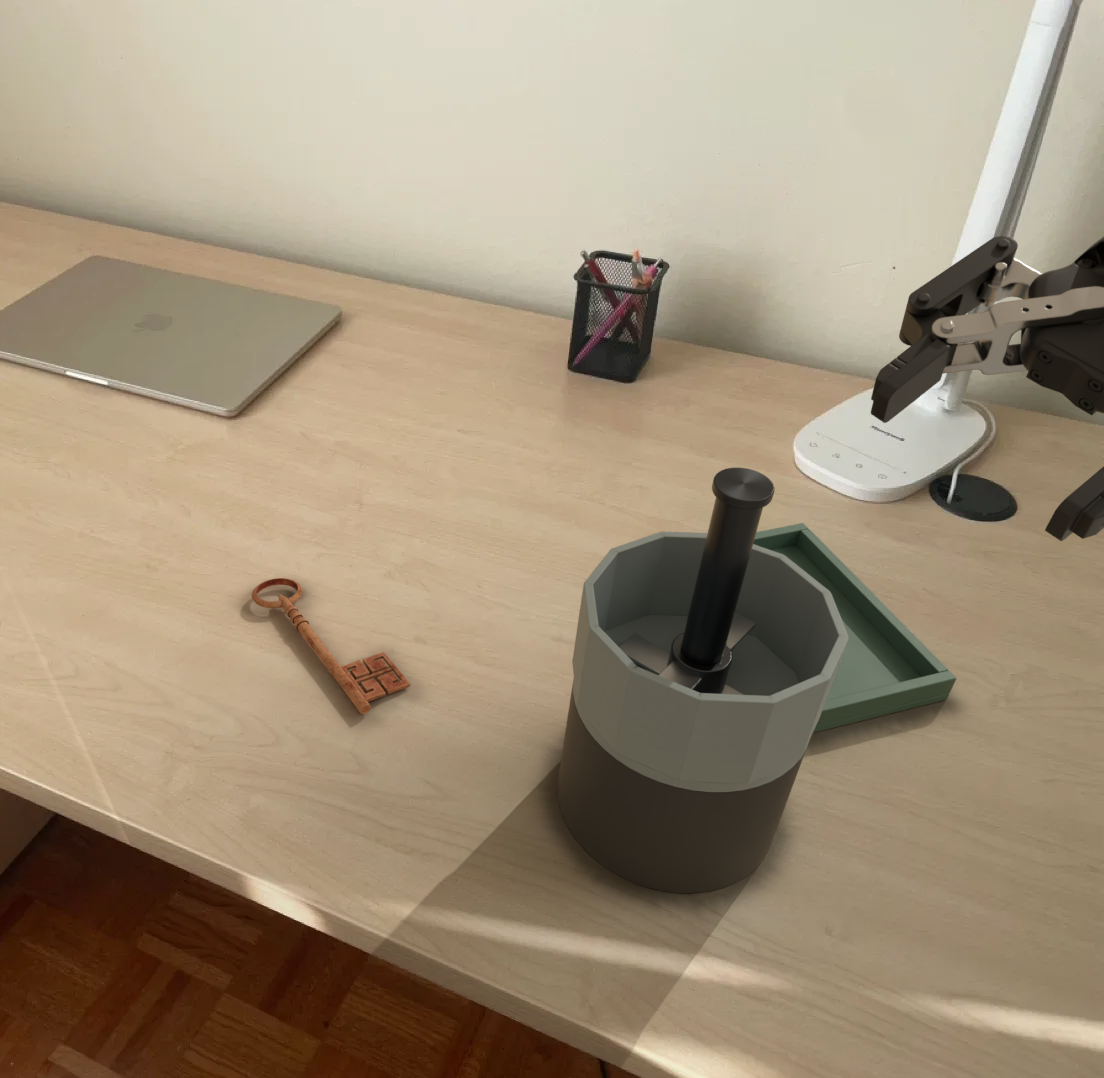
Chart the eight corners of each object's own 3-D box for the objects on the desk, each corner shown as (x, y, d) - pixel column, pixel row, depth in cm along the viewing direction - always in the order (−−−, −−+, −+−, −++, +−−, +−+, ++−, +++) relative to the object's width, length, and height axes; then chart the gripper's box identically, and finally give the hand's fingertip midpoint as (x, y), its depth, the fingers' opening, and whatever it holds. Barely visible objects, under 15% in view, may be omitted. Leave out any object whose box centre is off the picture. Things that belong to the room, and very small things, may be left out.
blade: (806, 686, 59) (877, 481, 50) (723, 780, 54) (787, 570, 45) (665, 611, 64) (708, 412, 55) (578, 691, 59) (610, 486, 50)
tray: (947, 699, 71) (957, 677, 70) (768, 744, 68) (776, 722, 67) (797, 543, 84) (803, 522, 83) (642, 574, 81) (646, 553, 80)
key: (413, 696, 72) (313, 572, 82) (415, 686, 71) (313, 562, 82) (338, 723, 69) (244, 592, 80) (339, 714, 69) (244, 583, 79)
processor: (821, 840, 62) (901, 648, 53) (643, 929, 58) (693, 738, 48) (681, 694, 72) (726, 508, 62) (517, 762, 67) (538, 573, 57)
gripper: (1098, 116, 47) (837, 314, 45) (1456, 264, 40) (1166, 516, 37) (1049, 243, 54) (817, 425, 51) (1351, 394, 46) (1095, 618, 43)
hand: (964, 463), depth 44 cm, fingers open, 8 cm apart
